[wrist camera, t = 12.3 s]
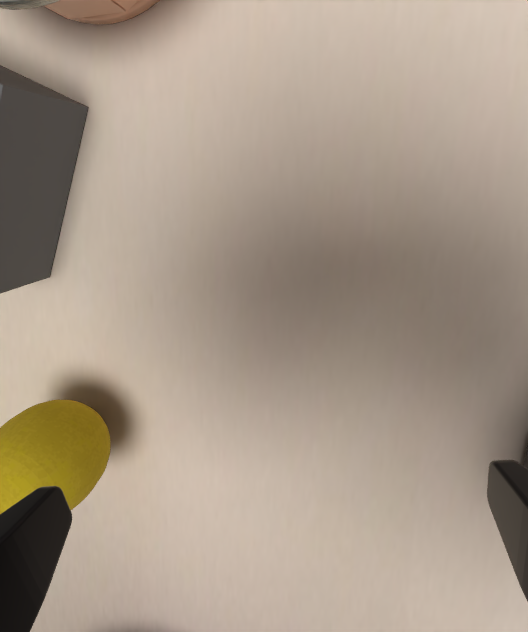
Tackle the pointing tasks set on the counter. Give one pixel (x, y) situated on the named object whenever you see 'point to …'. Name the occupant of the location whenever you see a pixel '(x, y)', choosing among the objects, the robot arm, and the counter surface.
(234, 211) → the counter surface
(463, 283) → the counter surface
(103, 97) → the counter surface
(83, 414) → the lemon
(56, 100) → the block
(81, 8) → the bowl
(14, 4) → the lid
